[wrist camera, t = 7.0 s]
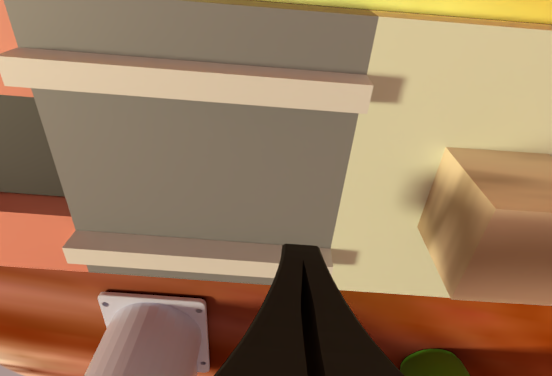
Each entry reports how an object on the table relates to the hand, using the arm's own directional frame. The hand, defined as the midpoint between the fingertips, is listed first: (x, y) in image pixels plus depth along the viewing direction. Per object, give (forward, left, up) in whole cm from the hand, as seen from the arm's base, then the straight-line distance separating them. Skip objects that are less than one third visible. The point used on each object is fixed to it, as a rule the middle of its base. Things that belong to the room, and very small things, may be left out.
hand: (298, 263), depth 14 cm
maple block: (0, -10, -6) cm, 11 cm away
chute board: (0, +4, -8) cm, 9 cm away
